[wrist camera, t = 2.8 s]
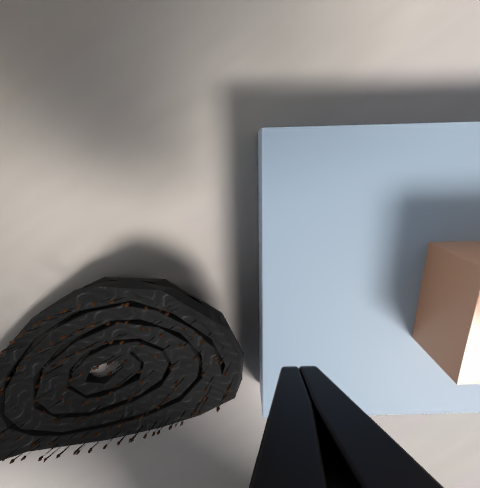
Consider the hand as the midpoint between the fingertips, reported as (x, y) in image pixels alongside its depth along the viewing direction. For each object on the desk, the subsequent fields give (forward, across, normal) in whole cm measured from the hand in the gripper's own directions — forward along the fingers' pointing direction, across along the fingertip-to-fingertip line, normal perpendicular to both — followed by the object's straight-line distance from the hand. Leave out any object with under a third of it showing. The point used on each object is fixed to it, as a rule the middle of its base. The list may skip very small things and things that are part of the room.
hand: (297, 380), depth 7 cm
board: (+6, -8, 0) cm, 10 cm away
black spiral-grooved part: (+7, +13, +7) cm, 16 cm away
